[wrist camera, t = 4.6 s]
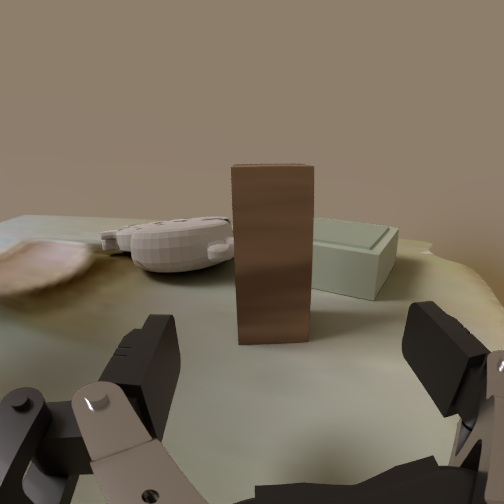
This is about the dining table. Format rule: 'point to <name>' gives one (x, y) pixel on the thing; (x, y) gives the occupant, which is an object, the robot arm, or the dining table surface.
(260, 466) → the dining table surface
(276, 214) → the block
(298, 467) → the dining table surface
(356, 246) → the stand
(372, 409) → the dining table surface
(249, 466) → the dining table surface
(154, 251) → the toy
